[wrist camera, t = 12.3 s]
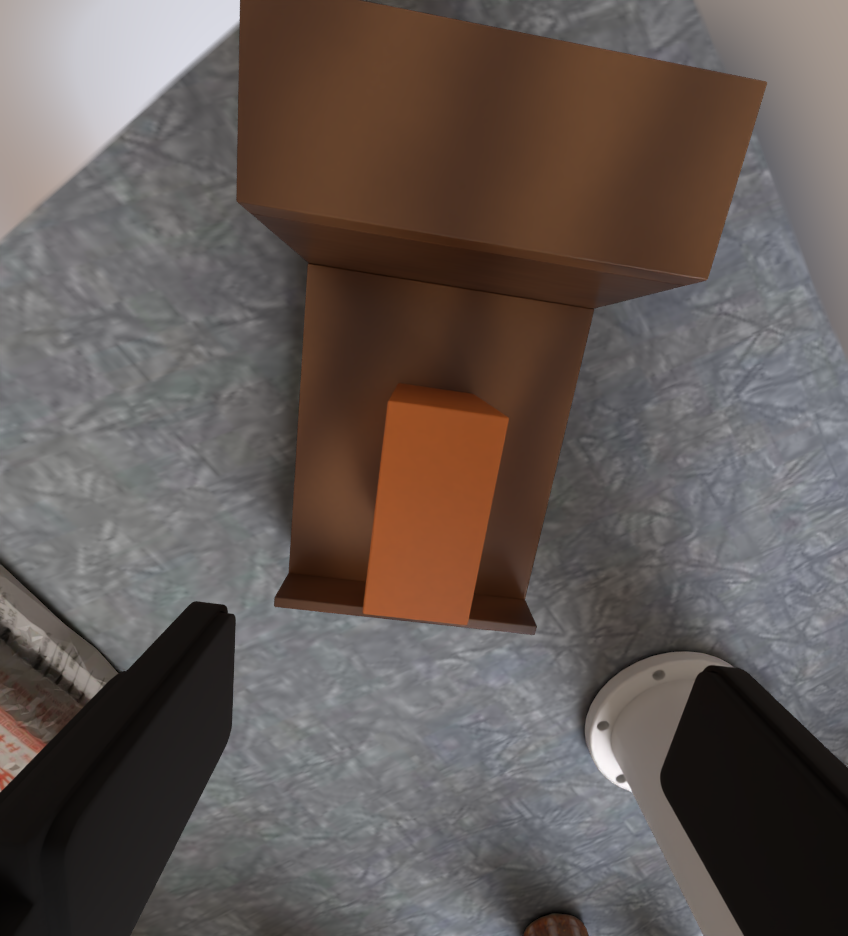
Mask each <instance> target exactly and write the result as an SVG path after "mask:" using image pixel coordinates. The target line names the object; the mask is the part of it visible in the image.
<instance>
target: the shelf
mask: <svg viewBox="0 0 848 936" xmlns="http://www.w3.org/2000/svg"><path fill="white" fill-rule="evenodd" d="M766 85H767V82H766V81H761V80H756V79H751V78H746V77H741V76H736V75H731V74H726V73H721V72H716V71H711V70H706V69H701V68H696V67H691V66H686V65H681V64H676V63H671V62H666V61H661V60H656V59H651V58H646V57H641V56H636V55H631V54H626V53H621V52H616V51H611V50H606V49H601V48H596V47H591V46H586V45H581V44H576V43H571V42H566V41H561V40H556V39H551V38H546V37H541V36H536V35H531V34H526V33H521V32H516V31H511V30H506V29H501V28H497V27H492V26H487V25H482V24H477V23H472V22H467V21H462V20H457V19H452V18H447V17H442V16H437V15H432V14H427V13H422V12H417V11H412V10H407V9H402V8H397V7H392V6H387V5H382V4H377V3H372V2H367V1H362V0H240V35H239V90H238V144H237V199H236V200H237V202H238V203H239V204H240V205H241V206H243V207H244V208H245V209H246V210H247V211H248V212H250V213H251V214H252V215H253V216H254V217H256V218H257V219H258V220H259V221H260V222H261V223H263V224H264V225H265V226H266V227H267V228H268V229H270V230H271V231H272V232H273V233H274V234H275V235H277V236H278V237H279V238H280V239H281V240H282V241H284V242H285V243H286V244H287V245H288V246H289V247H291V248H292V249H293V250H294V251H295V252H296V253H298V254H299V255H300V256H301V257H302V258H303V259H304V260H306V261H307V262H308V263H309V264H308V269H307V285H306V301H305V317H304V334H303V350H302V366H301V382H300V399H299V415H298V431H297V447H296V463H295V480H294V496H293V512H292V528H291V545H290V561H289V573H288V575H287V577H286V579H285V580H284V582H283V584H282V586H281V587H280V589H279V591H278V592H277V594H276V596H275V599H274V606H275V607H282V608H291V609H300V610H310V611H319V612H328V613H337V614H346V615H355V616H365V617H374V618H383V619H392V620H401V621H411V622H420V623H429V624H438V625H447V626H456V627H466V628H475V629H484V630H493V631H502V632H511V633H521V634H530V635H535V632H536V628H537V625H536V623H535V621H534V619H533V617H532V614H531V612H530V610H529V608H528V605H527V603H526V601H525V597H526V593H527V588H528V584H529V580H530V576H531V572H532V567H533V563H534V559H535V555H536V551H537V547H538V542H539V538H540V534H541V530H542V526H543V521H544V517H545V513H546V509H547V505H548V501H549V496H550V492H551V488H552V484H553V480H554V475H555V471H556V467H557V463H558V459H559V455H560V450H561V446H562V442H563V438H564V434H565V429H566V425H567V421H568V417H569V413H570V409H571V404H572V400H573V396H574V392H575V388H576V383H577V379H578V375H579V371H580V367H581V363H582V358H583V354H584V350H585V346H586V342H587V337H588V333H589V329H590V325H591V321H592V317H593V312H594V308H598V307H602V306H606V305H610V304H614V303H618V302H622V301H626V300H630V299H634V298H638V297H642V296H646V295H650V294H654V293H658V292H662V291H666V290H670V289H674V288H678V287H682V286H685V285H690V284H694V283H698V282H702V281H706V280H707V279H708V276H709V273H710V270H711V267H712V263H713V260H714V257H715V253H716V250H717V247H718V243H719V240H720V237H721V234H722V230H723V227H724V224H725V220H726V217H727V214H728V210H729V207H730V204H731V201H732V197H733V194H734V191H735V187H736V184H737V181H738V177H739V174H740V171H741V168H742V164H743V161H744V158H745V154H746V151H747V148H748V145H749V141H750V138H751V135H752V131H753V128H754V125H755V121H756V118H757V115H758V112H759V108H760V105H761V102H762V98H763V95H764V91H765V88H766ZM398 383H402V384H409V385H416V386H423V387H429V388H436V389H443V390H450V391H457V392H464V393H471V394H474V395H476V396H477V397H479V398H480V399H482V400H483V401H485V402H486V403H488V404H489V405H491V406H492V407H494V408H495V409H497V410H498V411H500V412H501V413H503V414H504V415H506V416H507V417H508V418H509V422H508V427H507V431H506V436H505V441H504V446H503V451H502V456H501V461H500V466H499V471H498V476H497V481H496V486H495V491H494V496H493V501H492V506H491V511H490V516H489V521H488V526H487V531H486V536H485V541H484V546H483V551H482V556H481V561H480V566H479V571H478V575H477V580H476V585H475V590H474V595H473V600H472V605H471V610H470V615H469V620H468V624H467V625H459V624H450V623H441V622H432V621H423V620H414V619H405V618H396V617H387V616H378V615H368V614H363V612H362V611H363V603H364V595H365V586H366V578H367V570H368V561H369V553H370V545H371V536H372V528H373V520H374V511H375V503H376V495H377V486H378V478H379V470H380V462H381V453H382V445H383V437H384V428H385V420H386V412H387V403H388V401H389V399H390V397H391V395H392V393H393V391H394V390H395V388H396V386H397V384H398Z"/></svg>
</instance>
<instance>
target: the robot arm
mask: <svg viewBox="0 0 848 936" xmlns="http://www.w3.org/2000/svg"><path fill="white" fill-rule="evenodd" d="M235 624H236V619H235V615H234V614H229V613H228V610H227V607H226V606H225V605H221V604H213V603H205V602H197V601H196V602H193V603H191V604H190V605H189V606H188V607H187V608H186V609H185V610H184V611H183V612H182V613H181V614H180V615H179V616H178V618H177V619H176V620H175V621H174V622H173V623H172V624H171V625H170V626H169V627H168V628H167V629H166V630H165V631H164V632H163V633H162V634H161V635H160V636H159V638H158V639H157V640H156V641H155V642H154V643H153V644H152V645H151V646H150V647H149V648H148V649H147V650H146V651H145V652H144V653H143V654H142V655H141V657H140V658H139V659H138V660H137V661H136V662H135V663H134V664H133V665H132V666H131V667H130V668H129V669H128V670H127V671H124V672H121V673H119V674H117V675H115V676H114V677H113V678H112V679H111V680H110V681H108V682H107V683H106V684H105V685H104V686H103V687H102V688H101V689H100V691H99V692H98V693H97V694H96V695H95V696H94V697H93V698H92V699H91V700H90V701H89V702H88V703H87V704H86V705H85V706H84V707H83V708H82V709H81V710H80V711H79V712H78V713H77V714H76V715H75V716H74V717H73V718H72V719H71V720H70V721H69V722H68V723H67V724H66V725H65V726H64V727H63V728H62V730H61V731H60V732H59V733H58V734H57V735H56V736H55V737H54V738H53V739H52V740H51V741H50V742H49V743H48V744H47V745H46V746H45V747H44V748H43V749H42V750H41V751H40V752H39V753H38V754H37V755H36V756H35V757H34V758H33V759H32V760H31V761H30V762H29V763H28V764H27V765H26V766H25V767H24V768H23V770H22V771H21V772H20V773H19V774H18V775H17V776H16V777H15V778H14V779H13V780H12V781H11V782H10V783H9V784H8V785H7V786H6V787H5V788H4V789H3V790H2V791H1V792H0V936H130V935H131V933H132V931H133V929H134V927H135V925H136V923H137V921H138V919H139V917H140V915H141V913H142V911H143V909H144V907H145V905H146V903H147V901H148V899H149V897H150V895H151V893H152V891H153V889H154V887H155V885H156V883H157V881H158V879H159V877H160V875H161V873H162V871H163V869H164V867H165V865H166V863H167V862H168V860H169V858H170V856H171V854H172V852H173V850H174V848H175V846H176V844H177V842H178V840H179V838H180V836H181V834H182V832H183V830H184V828H185V826H186V824H187V822H188V820H189V818H190V816H191V814H192V812H193V810H194V808H195V806H196V804H197V802H198V800H199V798H200V796H201V794H202V792H203V790H204V788H205V786H206V784H207V782H208V780H209V778H210V777H211V775H212V773H213V771H214V769H215V767H216V765H217V763H218V761H219V759H220V757H221V755H222V753H223V751H224V749H225V747H226V744H227V742H228V739H229V736H230V732H231V727H232V708H233V680H234V652H235ZM585 738H586V744H587V746H588V749H589V752H590V754H591V757H592V759H593V761H594V762H595V764H596V766H597V768H598V769H599V771H600V772H601V773H602V774H603V775H604V776H605V777H606V778H607V779H608V780H609V781H611V782H612V783H613V784H615V785H617V786H619V787H621V788H623V789H626V790H628V791H631V792H632V793H633V795H634V797H635V799H636V801H637V803H638V805H639V807H640V809H641V811H642V813H643V815H644V817H645V819H646V821H647V823H648V825H649V827H650V829H651V831H652V833H653V835H654V837H655V839H656V841H657V843H658V845H659V847H660V849H661V851H662V853H663V855H664V857H665V859H666V861H667V863H668V865H669V867H670V869H671V871H672V873H673V875H674V877H675V879H676V881H677V883H678V885H679V887H680V889H681V891H682V893H683V895H684V897H685V899H686V901H687V903H688V905H689V907H690V909H691V911H692V913H693V915H694V917H695V919H696V921H697V923H698V925H699V927H700V929H701V931H702V933H703V935H704V936H848V768H847V767H846V766H845V765H844V764H843V763H842V762H841V761H840V760H839V759H838V758H837V757H836V756H835V755H833V754H832V753H831V752H830V751H829V750H828V749H827V748H826V747H825V746H824V745H823V744H822V743H821V742H820V741H819V740H818V739H817V738H816V737H815V736H814V735H812V734H811V733H810V732H809V731H808V730H807V729H806V728H805V727H804V726H803V725H802V724H801V723H800V722H799V721H798V720H797V719H796V718H795V717H794V716H793V715H791V714H790V713H789V712H788V711H787V710H786V709H785V708H784V707H783V706H782V705H781V704H780V703H779V702H778V701H777V700H776V699H775V698H774V697H773V696H772V695H771V694H769V693H768V692H767V691H766V690H765V689H764V688H763V687H762V686H761V685H760V684H759V683H758V682H757V681H756V680H755V679H754V678H753V677H752V676H751V675H750V674H748V673H747V672H746V671H744V670H742V669H739V668H734V667H733V666H732V665H730V664H729V663H727V662H725V661H723V660H721V659H720V658H718V657H714V656H711V655H708V654H704V653H698V652H689V651H683V652H669V653H664V654H659V655H655V656H651V657H649V658H646V659H643V660H641V661H638V662H636V663H634V664H632V665H631V666H629V667H627V668H625V669H623V670H622V671H621V672H619V673H618V674H617V675H615V676H614V677H613V678H612V679H610V680H609V681H608V682H607V684H606V685H605V686H604V687H603V688H602V689H601V690H600V691H599V693H598V694H597V696H596V697H595V699H594V701H593V702H592V704H591V706H590V709H589V711H588V714H587V717H586V723H585Z"/></svg>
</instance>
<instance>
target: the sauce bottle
mask: <svg viewBox="0 0 848 936" xmlns="http://www.w3.org/2000/svg"><path fill="white" fill-rule="evenodd" d="M524 936H589V935H588V932H587V929H586V928H585V926H584V924H583V922H582V921H580V920H579V919H577V918H576V917H575V916H572V915H567V914H557V913H552V914H550V915H547V916H544V917H540V918H538V919H537V920H535V921H533V922H532V923H531V924H530V925H529V926H528V927H527V928H526V930H525V932H524Z"/></svg>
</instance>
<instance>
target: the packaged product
mask: <svg viewBox="0 0 848 936" xmlns="http://www.w3.org/2000/svg"><path fill="white" fill-rule="evenodd" d="M117 674H118V672H117V671H116V670H115V669H114V668H113V667H112V666H111V665H110V664H109V662H108V661H107V660H106V659H105V658H104V657H103V656H102V655H101V653H100V652H99V651H98V650H97V649H96V648H95V647H93V646H92V645H91V644H89V643H88V642H87V641H85V640H84V639H83V638H82V637H80V636H79V635H78V634H76V633H75V632H74V631H73V630H71V629H70V628H69V627H67V626H66V625H65V624H64V623H63V622H62V621H61V620H60V619H58V618H57V617H56V616H55V615H54V614H53V613H52V612H51V611H50V610H49V609H48V608H47V607H46V606H45V605H44V604H42V603H41V602H40V601H39V600H38V599H37V598H36V597H35V596H34V595H33V594H32V593H31V592H30V591H29V590H28V589H26V588H25V587H24V586H23V585H22V584H21V583H20V582H19V581H18V580H17V579H16V578H15V577H14V576H13V575H12V574H10V573H9V572H8V571H7V570H6V569H5V568H4V567H3V566H2V565H1V564H0V792H1V791H2V790H3V789H4V788H5V787H6V786H7V785H8V784H9V783H10V782H11V781H12V780H13V779H14V778H15V777H16V776H17V775H18V774H19V773H20V772H21V771H22V770H23V768H24V767H25V766H26V765H27V764H28V763H29V762H30V761H31V760H32V759H33V758H34V757H35V756H36V755H37V754H38V753H39V752H40V751H41V750H42V749H43V748H44V747H45V746H46V745H47V744H48V743H49V742H50V741H51V740H52V739H53V738H54V737H55V736H56V735H57V734H58V733H59V732H60V731H61V730H62V728H63V727H64V726H65V725H66V724H67V723H68V722H69V721H70V720H71V719H72V718H73V717H74V716H75V715H76V714H77V713H78V712H79V711H80V710H81V709H82V708H83V707H84V706H85V705H86V704H87V703H88V702H89V701H90V700H91V699H92V698H93V697H94V696H95V695H96V694H97V693H98V692H99V691H100V689H101V688H102V687H103V686H104V685H105V684H106V683H107V682H108V681H110V680H111V679H112V678H113V677H114V676H115V675H117Z"/></svg>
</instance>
